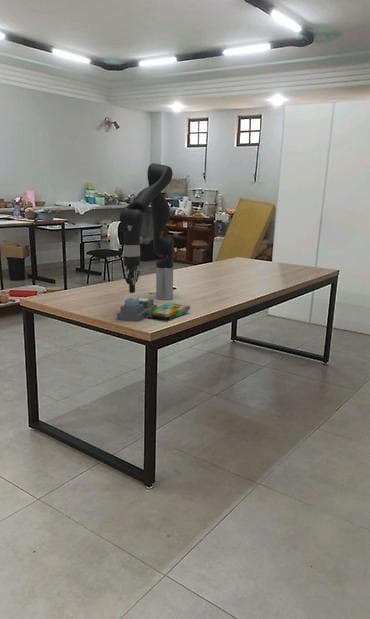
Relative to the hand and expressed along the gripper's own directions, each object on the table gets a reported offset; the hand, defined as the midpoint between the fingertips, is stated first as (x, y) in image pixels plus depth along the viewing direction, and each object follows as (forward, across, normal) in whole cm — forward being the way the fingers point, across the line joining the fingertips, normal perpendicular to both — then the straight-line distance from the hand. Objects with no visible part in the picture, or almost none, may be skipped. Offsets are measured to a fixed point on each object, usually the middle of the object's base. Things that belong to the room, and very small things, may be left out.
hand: (132, 292), depth 216 cm
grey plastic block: (+12, -7, 0) cm, 14 cm away
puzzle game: (+13, -11, +14) cm, 22 cm away
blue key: (+6, 0, 0) cm, 6 cm away
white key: (+9, -13, 0) cm, 16 cm away
